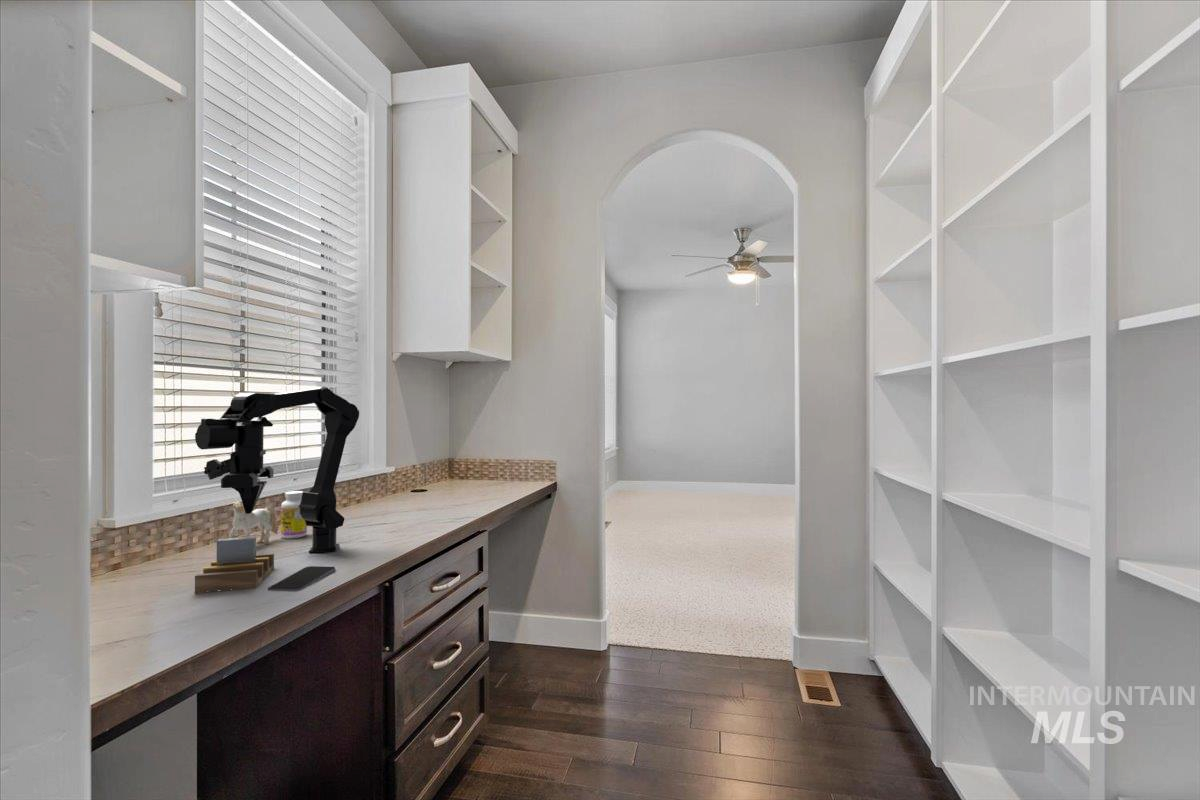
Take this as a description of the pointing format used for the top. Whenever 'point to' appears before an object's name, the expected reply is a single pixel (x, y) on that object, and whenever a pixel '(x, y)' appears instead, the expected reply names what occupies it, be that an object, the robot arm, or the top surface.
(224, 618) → the top surface
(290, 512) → the supplement bottle
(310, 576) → the smartphone
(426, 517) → the top surface
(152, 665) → the top surface
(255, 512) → the unicorn figurine
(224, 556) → the block
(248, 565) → the rack
